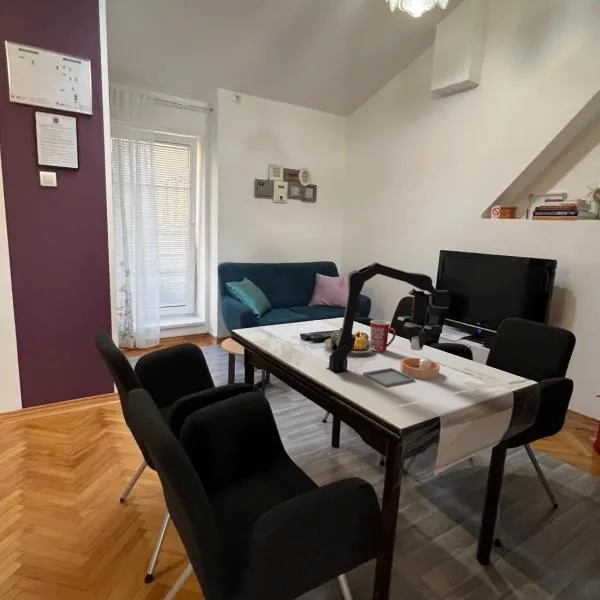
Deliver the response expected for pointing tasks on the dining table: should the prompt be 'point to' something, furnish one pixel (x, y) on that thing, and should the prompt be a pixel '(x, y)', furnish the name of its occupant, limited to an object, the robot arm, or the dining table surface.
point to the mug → (380, 335)
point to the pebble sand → (425, 364)
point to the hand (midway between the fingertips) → (416, 346)
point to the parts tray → (388, 377)
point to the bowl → (412, 369)
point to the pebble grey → (415, 343)
